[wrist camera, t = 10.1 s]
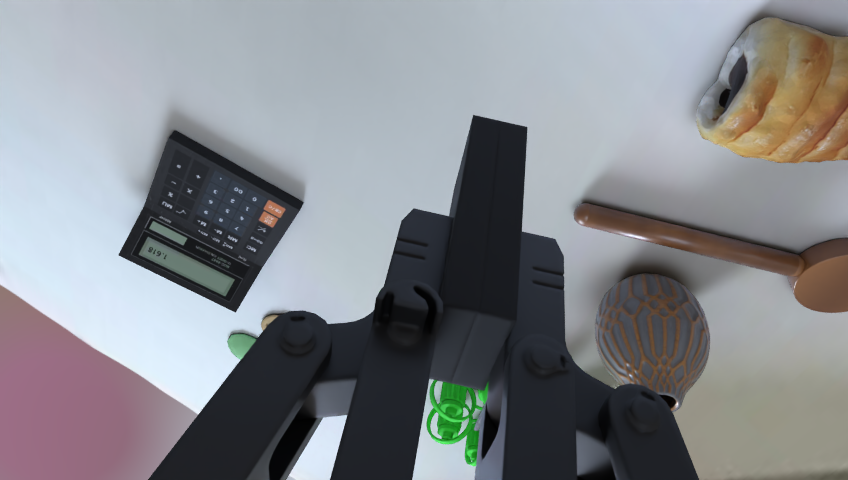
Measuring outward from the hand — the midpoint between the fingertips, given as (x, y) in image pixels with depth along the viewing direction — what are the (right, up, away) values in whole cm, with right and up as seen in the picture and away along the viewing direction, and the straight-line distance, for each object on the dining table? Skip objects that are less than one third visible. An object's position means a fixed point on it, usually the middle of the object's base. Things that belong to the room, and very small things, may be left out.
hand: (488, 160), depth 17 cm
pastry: (+16, +6, +12) cm, 21 cm away
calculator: (-17, -1, +26) cm, 31 cm away
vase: (+14, -6, +24) cm, 28 cm away
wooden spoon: (+17, -3, +20) cm, 26 cm away
